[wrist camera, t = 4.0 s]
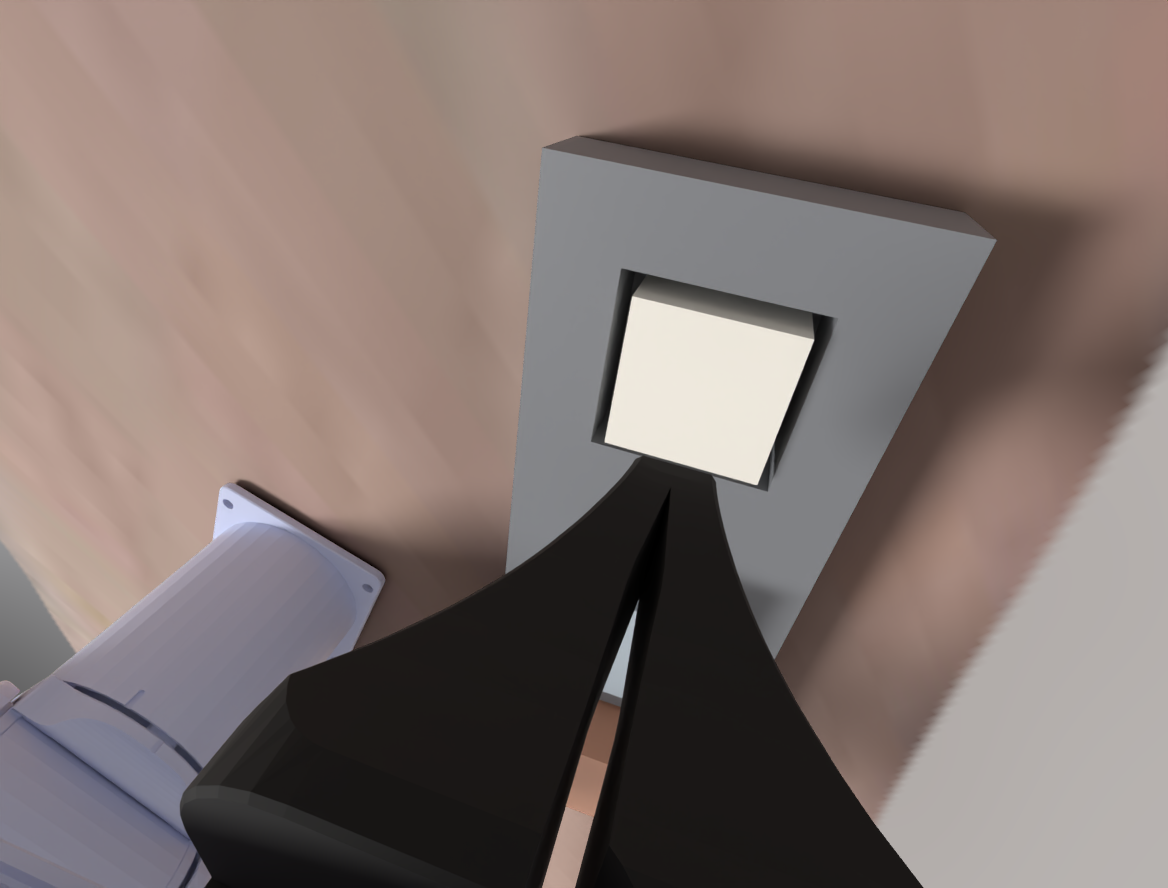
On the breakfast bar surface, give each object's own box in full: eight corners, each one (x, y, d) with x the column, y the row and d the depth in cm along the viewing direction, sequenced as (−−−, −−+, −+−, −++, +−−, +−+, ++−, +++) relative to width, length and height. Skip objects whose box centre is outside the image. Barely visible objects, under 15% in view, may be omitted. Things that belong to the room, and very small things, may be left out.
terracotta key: (640, 769, 24) (627, 830, 23) (549, 736, 25) (529, 792, 23) (660, 717, 22) (648, 779, 20) (560, 681, 23) (539, 738, 21)
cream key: (761, 436, 17) (757, 485, 15) (625, 400, 17) (604, 442, 15) (811, 302, 14) (814, 339, 12) (652, 266, 15) (632, 296, 13)
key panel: (692, 772, 27) (684, 829, 25) (510, 706, 29) (489, 755, 27) (965, 212, 13) (996, 239, 11) (577, 135, 14) (542, 147, 12)
